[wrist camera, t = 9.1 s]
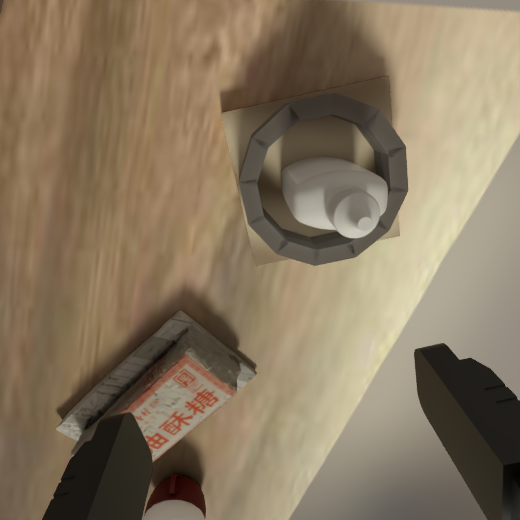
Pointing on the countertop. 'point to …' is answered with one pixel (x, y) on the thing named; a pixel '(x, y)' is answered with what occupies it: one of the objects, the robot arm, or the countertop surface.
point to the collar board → (312, 145)
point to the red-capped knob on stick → (176, 500)
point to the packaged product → (163, 386)
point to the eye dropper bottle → (334, 195)
